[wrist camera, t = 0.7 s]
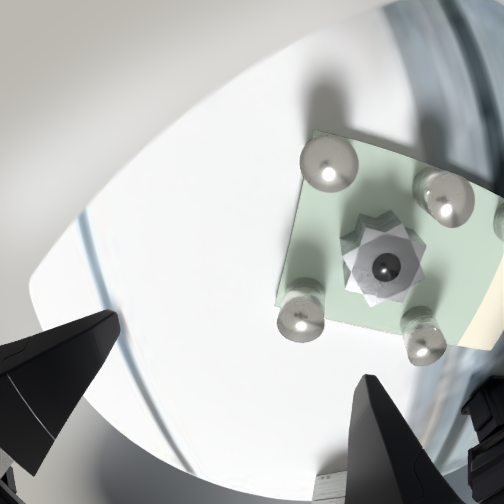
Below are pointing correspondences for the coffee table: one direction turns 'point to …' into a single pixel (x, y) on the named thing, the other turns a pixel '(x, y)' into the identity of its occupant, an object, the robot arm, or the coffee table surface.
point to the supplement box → (330, 488)
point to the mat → (433, 262)
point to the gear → (382, 258)
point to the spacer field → (425, 195)
